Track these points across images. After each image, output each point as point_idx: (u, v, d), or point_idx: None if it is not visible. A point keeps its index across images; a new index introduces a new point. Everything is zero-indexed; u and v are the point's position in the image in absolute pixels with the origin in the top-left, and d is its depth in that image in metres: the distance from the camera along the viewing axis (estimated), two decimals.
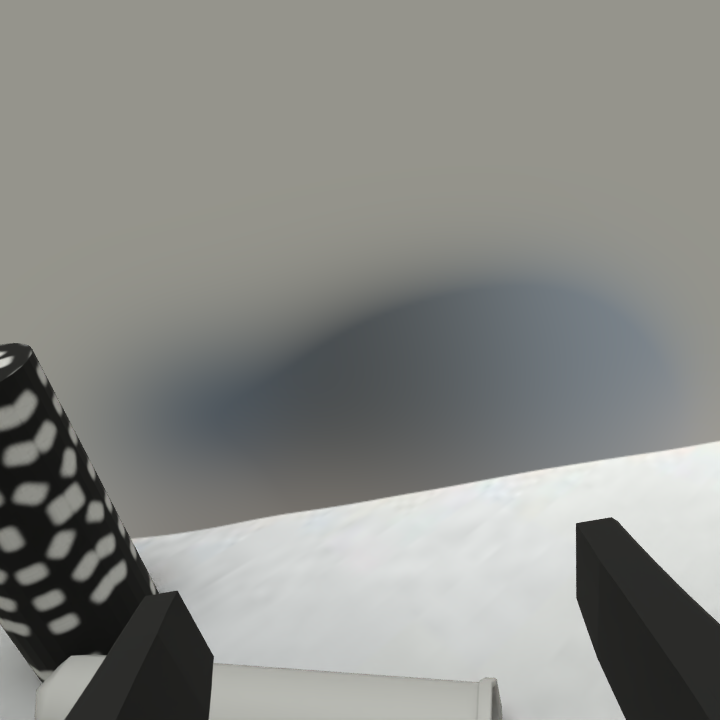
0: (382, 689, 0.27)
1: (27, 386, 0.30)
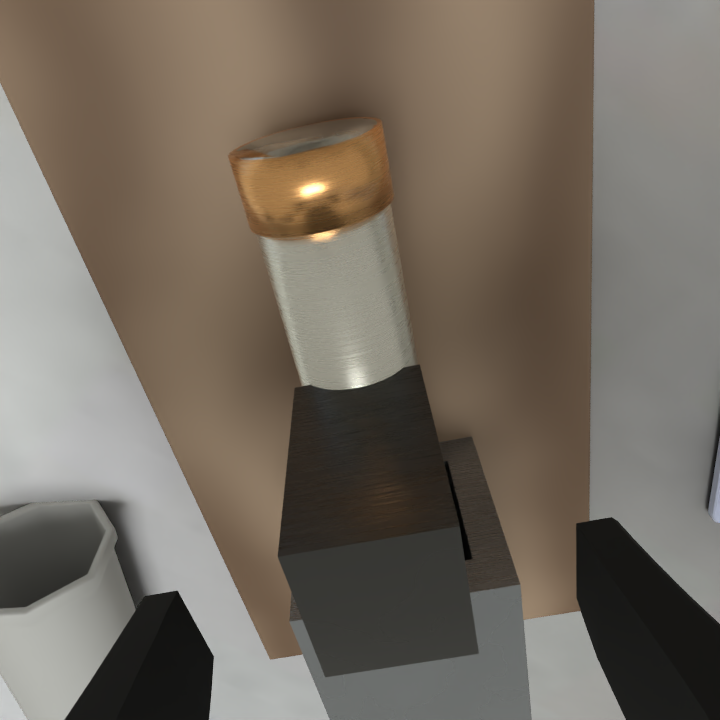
0: (31, 697, 0.21)
1: None
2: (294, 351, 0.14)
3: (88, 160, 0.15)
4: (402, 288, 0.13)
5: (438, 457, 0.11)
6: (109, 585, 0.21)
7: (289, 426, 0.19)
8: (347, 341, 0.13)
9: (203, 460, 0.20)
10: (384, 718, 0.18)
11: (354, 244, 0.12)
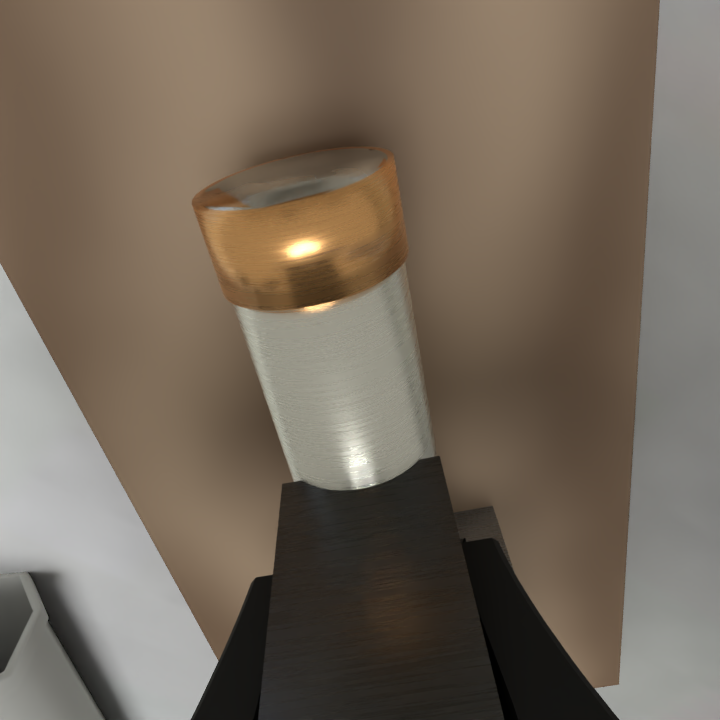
0: None
1: None
2: (281, 439, 0.11)
3: (28, 195, 0.12)
4: (418, 363, 0.10)
5: (472, 614, 0.08)
6: (40, 675, 0.18)
7: (279, 496, 0.17)
8: (348, 435, 0.10)
9: (179, 534, 0.17)
10: None
11: (358, 318, 0.09)
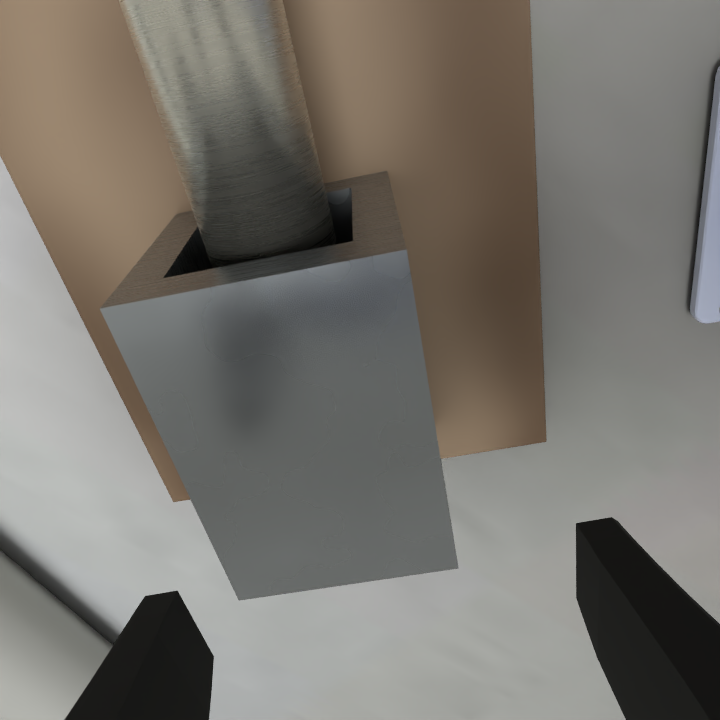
0: None
1: None
2: None
3: None
4: None
5: None
6: None
7: (154, 147, 0.15)
8: None
9: (54, 199, 0.16)
10: (256, 490, 0.14)
11: None
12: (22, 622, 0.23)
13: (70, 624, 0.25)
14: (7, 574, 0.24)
